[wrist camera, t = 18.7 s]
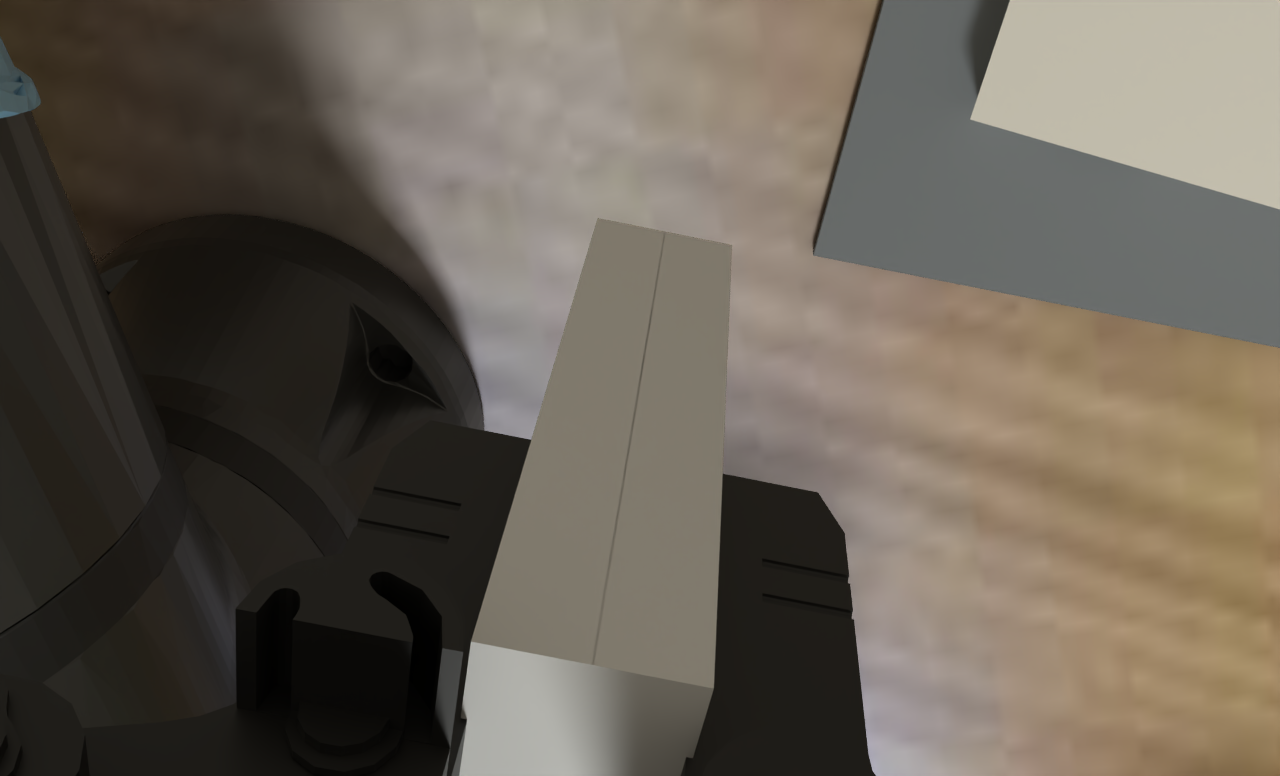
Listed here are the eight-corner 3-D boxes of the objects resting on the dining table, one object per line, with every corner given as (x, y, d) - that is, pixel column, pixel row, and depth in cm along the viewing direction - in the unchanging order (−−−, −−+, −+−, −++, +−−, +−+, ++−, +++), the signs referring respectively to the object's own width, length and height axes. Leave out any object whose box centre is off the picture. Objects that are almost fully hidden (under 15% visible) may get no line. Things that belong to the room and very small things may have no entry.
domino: (970, 119, 31) (1402, 244, 28) (1034, -72, 29) (1516, 45, 26) (979, 105, 33) (1393, 224, 30) (1040, -79, 30) (1501, 32, 27)
